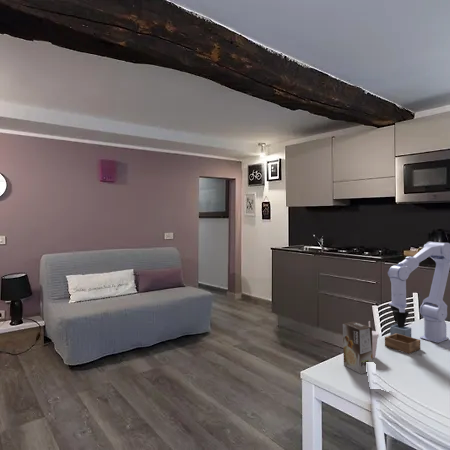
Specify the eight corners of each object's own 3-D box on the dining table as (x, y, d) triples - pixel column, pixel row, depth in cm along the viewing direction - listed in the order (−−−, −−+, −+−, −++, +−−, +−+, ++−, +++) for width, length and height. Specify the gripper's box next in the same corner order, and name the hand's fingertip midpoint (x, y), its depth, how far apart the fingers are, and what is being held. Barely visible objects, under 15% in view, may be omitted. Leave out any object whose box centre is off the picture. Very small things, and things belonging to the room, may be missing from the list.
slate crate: (396, 335, 164) (396, 324, 164) (411, 340, 158) (411, 327, 158) (390, 337, 162) (390, 326, 161) (405, 342, 156) (404, 330, 155)
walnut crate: (396, 342, 156) (396, 333, 156) (420, 349, 147) (420, 339, 147) (384, 346, 152) (384, 337, 152) (408, 354, 143) (408, 344, 143)
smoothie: (375, 353, 144) (375, 319, 144) (381, 359, 138) (380, 324, 137) (359, 353, 145) (359, 319, 144) (364, 359, 138) (363, 324, 138)
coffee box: (374, 371, 128) (373, 327, 127) (360, 374, 125) (359, 330, 125) (355, 361, 136) (354, 320, 136) (342, 364, 134) (341, 323, 133)
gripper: (386, 289, 160) (386, 319, 160) (391, 296, 146) (392, 329, 146) (403, 290, 158) (403, 320, 158) (410, 297, 144) (410, 330, 144)
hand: (399, 324), depth 152 cm, fingers open, 7 cm apart
